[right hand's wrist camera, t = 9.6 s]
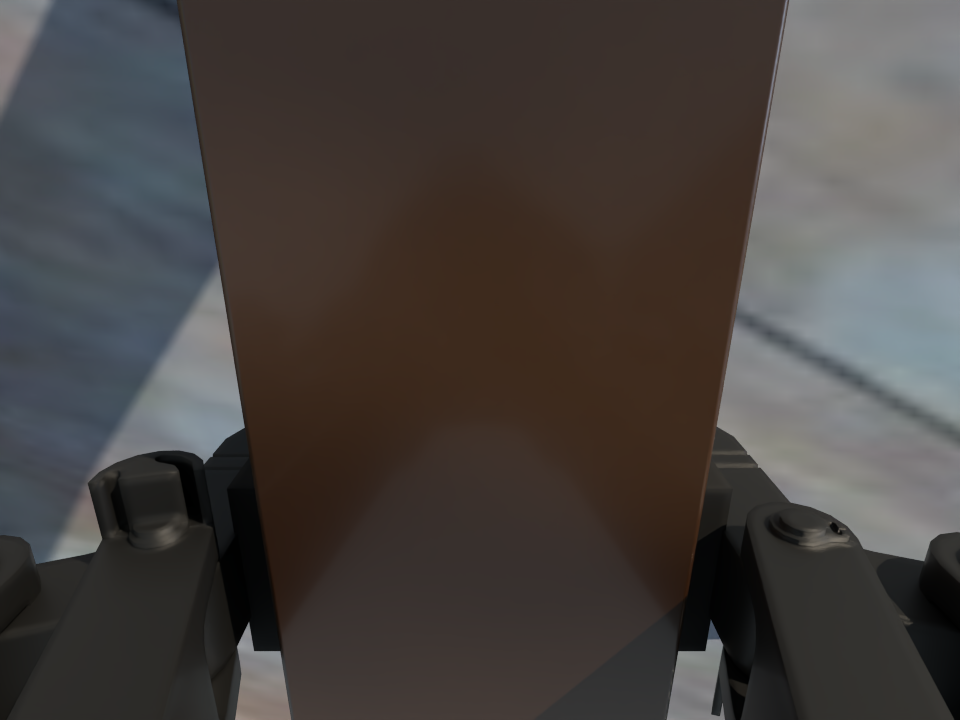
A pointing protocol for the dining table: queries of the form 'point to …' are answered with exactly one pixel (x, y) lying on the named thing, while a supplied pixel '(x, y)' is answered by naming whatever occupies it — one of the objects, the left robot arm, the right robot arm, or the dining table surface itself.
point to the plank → (481, 331)
